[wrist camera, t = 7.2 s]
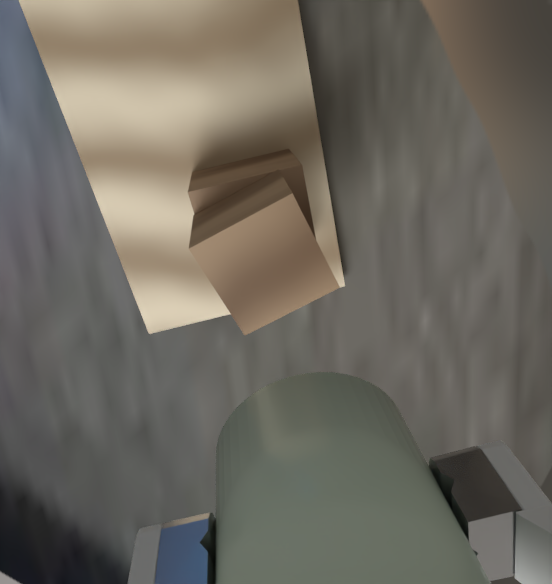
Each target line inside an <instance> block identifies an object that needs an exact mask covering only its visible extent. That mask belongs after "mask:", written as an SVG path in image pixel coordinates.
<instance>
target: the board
mask: <svg viewBox="0 0 552 584" xmlns="http://www.w3.org/2000/svg"><path fill="white" fill-rule="evenodd" d="M19 2H20V5H21V7H22V10H23V13H24V15H25V18H26V20H27V23H28V25H29V28H30V30H31V33H32V36H33V38H34V41H35V43H36V46H37V48H38V51H39V54H40V56H41V59H42V61H43V64H44V66H45V69H46V71H47V74H48V77H49V79H50V82H51V84H52V87H53V89H54V92H55V94H56V97H57V100H58V102H59V105H60V107H61V110H62V112H63V115H64V117H65V120H66V123H67V125H68V128H69V130H70V133H71V135H72V138H73V141H74V143H75V146H76V148H77V151H78V153H79V156H80V158H81V161H82V164H83V166H84V169H85V171H86V174H87V176H88V179H89V181H90V184H91V187H92V189H93V192H94V194H95V197H96V199H97V202H98V205H99V207H100V210H101V212H102V215H103V217H104V220H105V222H106V225H107V228H108V230H109V233H110V235H111V238H112V240H113V243H114V245H115V248H116V251H117V253H118V256H119V258H120V261H121V263H122V266H123V269H124V271H125V274H126V276H127V279H128V281H129V284H130V286H131V289H132V292H133V294H134V297H135V299H136V302H137V304H138V307H139V309H140V312H141V315H142V317H143V320H144V322H145V325H146V327H147V330H148V333H149V334H151V333H155V332H159V331H163V330H167V329H171V328H175V327H179V326H184V325H188V324H192V323H196V322H200V321H204V320H208V319H212V318H216V317H220V316H225V315H229V314H231V313H230V312H229V310H228V309H227V307H226V306H225V304H224V303H223V301H222V300H221V298H220V296H219V295H218V293H217V292H216V290H215V289H214V287H213V286H212V284H211V283H210V281H209V279H208V278H207V276H206V275H205V273H204V272H203V270H202V269H201V267H200V266H199V264H198V263H197V261H196V259H195V258H194V256H193V255H192V253H191V252H190V250H189V243H190V236H191V229H192V222H193V215H194V211H193V208H192V205H191V201H190V198H189V195H188V189H189V184H190V179H191V174H192V172H194V171H198V170H202V169H206V168H211V167H215V166H219V165H223V164H227V163H231V162H235V161H240V160H244V159H248V158H252V157H256V156H260V155H265V154H269V153H273V152H277V151H281V150H285V149H290V151H291V152H292V153H293V154H294V155H295V157H296V158H297V159H298V160H299V161H300V163H301V164H302V166H303V172H304V177H305V183H306V188H307V193H308V199H309V204H310V209H311V215H312V220H313V226H314V231H315V236H316V241H317V243H318V245H319V247H320V249H321V251H322V253H323V255H324V257H325V259H326V261H327V263H328V265H329V267H330V269H331V271H332V273H333V275H334V277H335V279H336V281H337V282H338V284H339V286H340V287H344V286H345V283H344V277H343V271H342V265H341V259H340V253H339V247H338V241H337V235H336V229H335V223H334V217H333V211H332V205H331V199H330V192H329V186H328V180H327V174H326V168H325V162H324V156H323V150H322V144H321V138H320V132H319V126H318V120H317V114H316V108H315V102H314V96H313V90H312V83H311V77H310V71H309V65H308V59H307V53H306V47H305V41H304V35H303V29H302V23H301V17H300V11H299V5H298V0H19Z"/></svg>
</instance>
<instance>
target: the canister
mask: <svg viewBox="0 0 552 584" xmlns="http://www.w3.org/2000/svg"><path fill="white" fill-rule="evenodd" d="M215 584H491V583H490V581H489V579H488V577H487V575H486V573H485V571H484V569H483V568H482V566H481V564H480V562H479V560H478V558H477V556H476V554H475V552H474V551H473V549H472V547H471V545H470V543H469V541H468V539H467V537H466V535H465V534H464V532H463V530H462V528H461V526H460V524H459V522H458V520H457V518H456V517H455V515H454V513H453V511H452V509H451V507H450V505H449V503H448V501H447V500H446V498H445V496H444V494H443V492H442V490H441V488H440V486H439V484H438V483H437V481H436V479H435V477H434V475H433V473H432V471H431V469H430V467H429V466H428V464H427V462H426V460H425V458H424V456H423V454H422V452H421V450H420V449H419V447H418V445H417V443H416V441H415V439H414V437H413V435H412V434H411V432H410V430H409V428H408V426H407V424H406V422H405V420H404V418H403V417H402V415H401V413H400V411H399V409H398V408H397V406H396V404H395V403H394V402H393V401H392V399H391V398H390V397H389V396H388V395H387V394H386V393H385V392H383V391H382V390H381V389H380V388H378V387H377V386H375V385H373V384H372V383H370V382H368V381H365V380H363V379H360V378H358V377H354V376H351V375H347V374H341V373H333V372H316V373H305V374H300V375H295V376H291V377H288V378H285V379H281V380H279V381H276V382H274V383H272V384H269V385H267V386H265V387H264V388H262V389H260V390H258V391H257V392H255V393H254V394H252V395H251V396H250V397H248V398H247V399H246V400H245V401H244V402H242V403H241V404H240V405H239V406H238V407H237V408H236V409H235V411H234V412H233V413H232V414H231V415H230V417H229V418H228V420H227V421H226V423H225V425H224V426H223V428H222V431H221V433H220V435H219V438H218V442H217V446H216V561H215Z"/></svg>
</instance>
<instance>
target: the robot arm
mask: <svg viewBox="0 0 552 584" xmlns="http://www.w3.org/2000/svg"><path fill="white" fill-rule="evenodd" d="M429 467H430V469H431V471H432V473H433V475H434V477H435V479H436V481H437V483H438V484H439V486H440V488H441V490H442V492H443V494H444V496H445V498H446V500H447V501H448V503H449V505H450V507H451V509H452V511H453V513H454V515H455V517H456V518H457V520H458V522H459V524H460V526H461V528H462V530H463V532H464V534H465V535H466V537H467V539H468V541H469V543H470V545H471V547H472V549H473V551H474V552H475V554H476V556H477V558H478V560H479V562H480V564H481V566H482V568H483V569H484V571H485V573H486V575H487V577H488V579H489V581H492V580H497V579H502V578H506V577H511V576H515V579H517V580H518V581H519V582H520V583H522V584H552V503H551V502H550V501H549V499H548V498H547V497H546V495H545V494H544V493H543V492H542V490H541V489H540V488H539V486H538V485H537V484H536V483H535V481H534V480H533V479H532V477H531V476H530V475H529V473H528V472H527V471H526V470H525V468H524V467H523V466H522V464H521V463H520V462H519V461H518V459H517V458H516V457H515V455H514V454H513V453H512V451H511V450H510V449H509V448H508V446H507V445H506V444H505V443H504V442H502V441H501V440H499V441H495V442H491V443H487V444H483V445H479V446H476V447H475V446H474V447H470V448H466V449H462V450H458V451H454V452H450V453H447V454H443V455H439V456H435V457H431V458H430V460H429ZM215 561H216V520H215V517H214V515H213V513H206V514H202V515H197V516H193V517H188V518H183V519H179V520H174V521H170V522H165V523H162V524H157V525H153V526H148V527H144V528H140V530H139V532H138V534H137V536H136V539H135V545H134V551H133V557H132V562H131V568H130V574H129V580H128V584H215Z"/></svg>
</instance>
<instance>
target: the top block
mask: <svg viewBox="0 0 552 584" xmlns="http://www.w3.org/2000/svg"><path fill="white" fill-rule="evenodd" d="M189 250H190V252H191V253H192V255H193V256H194V258H195V259H196V261H197V263H198V264H199V266H200V267H201V269H202V270H203V272H204V273H205V275H206V276H207V278H208V279H209V281H210V283H211V284H212V286H213V287H214V289H215V290H216V292H217V293H218V295H219V296H220V298H221V300H222V301H223V303H224V304H225V306H226V307H227V309H228V310H229V312H230V313H231V315H232V317H233V318H234V320H235V321H236V323H237V324H238V326H239V327H240V329H241V330H242V332H243V334H244V335H247V334H249V333H251V332H253V331H255V330H257V329H259V328H261V327H263V326H265V325H267V324H269V323H271V322H273V321H275V320H277V319H279V318H280V317H282V316H284V315H286V314H288V313H290V312H292V311H294V310H296V309H298V308H300V307H302V306H304V305H306V304H308V303H310V302H312V301H314V300H316V299H318V298H320V297H322V296H324V295H326V294H328V293H330V292H332V291H334V290H336V289H338V288H340V286H339V284H338V282H337V281H336V279H335V277H334V275H333V273H332V271H331V269H330V267H329V265H328V263H327V261H326V259H325V257H324V255H323V253H322V251H321V249H320V247H319V245H318V243H317V241H316V239H315V237H314V235H313V233H312V231H311V229H310V227H309V225H308V223H307V221H306V219H305V217H304V215H303V213H302V211H301V209H300V207H299V205H298V203H297V201H296V199H295V197H294V195H293V193H292V191H291V190H290V188H289V186H288V185H287V183H286V181H285V179H284V178H283V176H282V174H281V173H280V171H279V169H278V170H276V171H274V172H272V173H270V174H268V175H267V176H265V177H263V178H261V179H259V180H257V181H256V182H254V183H252V184H250V185H248V186H246V187H245V188H243V189H241V190H239V191H237V192H235V193H234V194H232V195H230V196H228V197H226V198H224V199H222V200H221V201H219V202H217V203H215V204H213V205H211V206H210V207H208V208H206V209H204V210H202V211H200V212H199V213H197V214H195V215H193V222H192V229H191V236H190V243H189Z"/></svg>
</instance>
